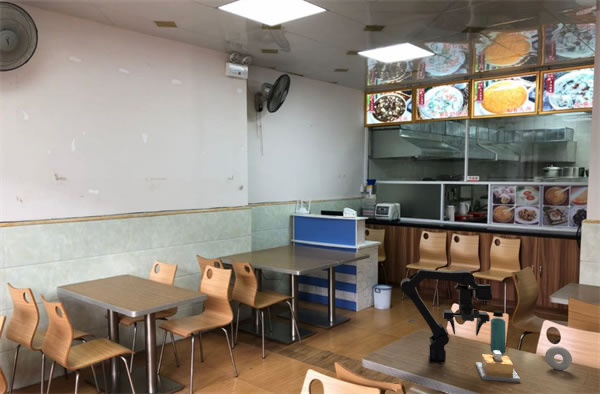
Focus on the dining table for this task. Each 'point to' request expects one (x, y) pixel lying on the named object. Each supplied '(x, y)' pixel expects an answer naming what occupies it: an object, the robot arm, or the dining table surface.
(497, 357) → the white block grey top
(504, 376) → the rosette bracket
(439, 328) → the robot arm
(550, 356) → the donut
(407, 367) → the dining table surface
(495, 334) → the beverage bottle
